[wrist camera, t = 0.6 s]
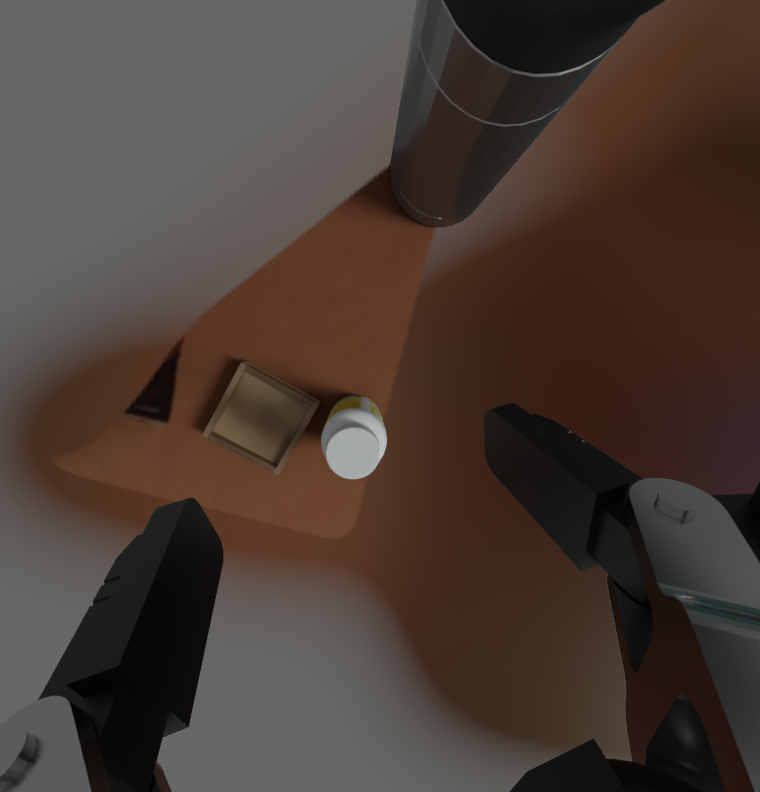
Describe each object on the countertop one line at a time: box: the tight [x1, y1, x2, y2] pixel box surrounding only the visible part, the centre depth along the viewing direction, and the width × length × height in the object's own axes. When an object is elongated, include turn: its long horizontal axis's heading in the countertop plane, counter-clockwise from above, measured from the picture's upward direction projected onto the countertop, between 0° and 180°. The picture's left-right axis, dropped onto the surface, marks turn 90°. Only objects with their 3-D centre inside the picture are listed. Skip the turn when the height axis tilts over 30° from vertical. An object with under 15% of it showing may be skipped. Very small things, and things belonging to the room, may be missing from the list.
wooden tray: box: [202, 361, 321, 475], centre depth 31 cm, size 8×8×2 cm
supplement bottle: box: [321, 395, 387, 479], centre depth 28 cm, size 5×5×10 cm
